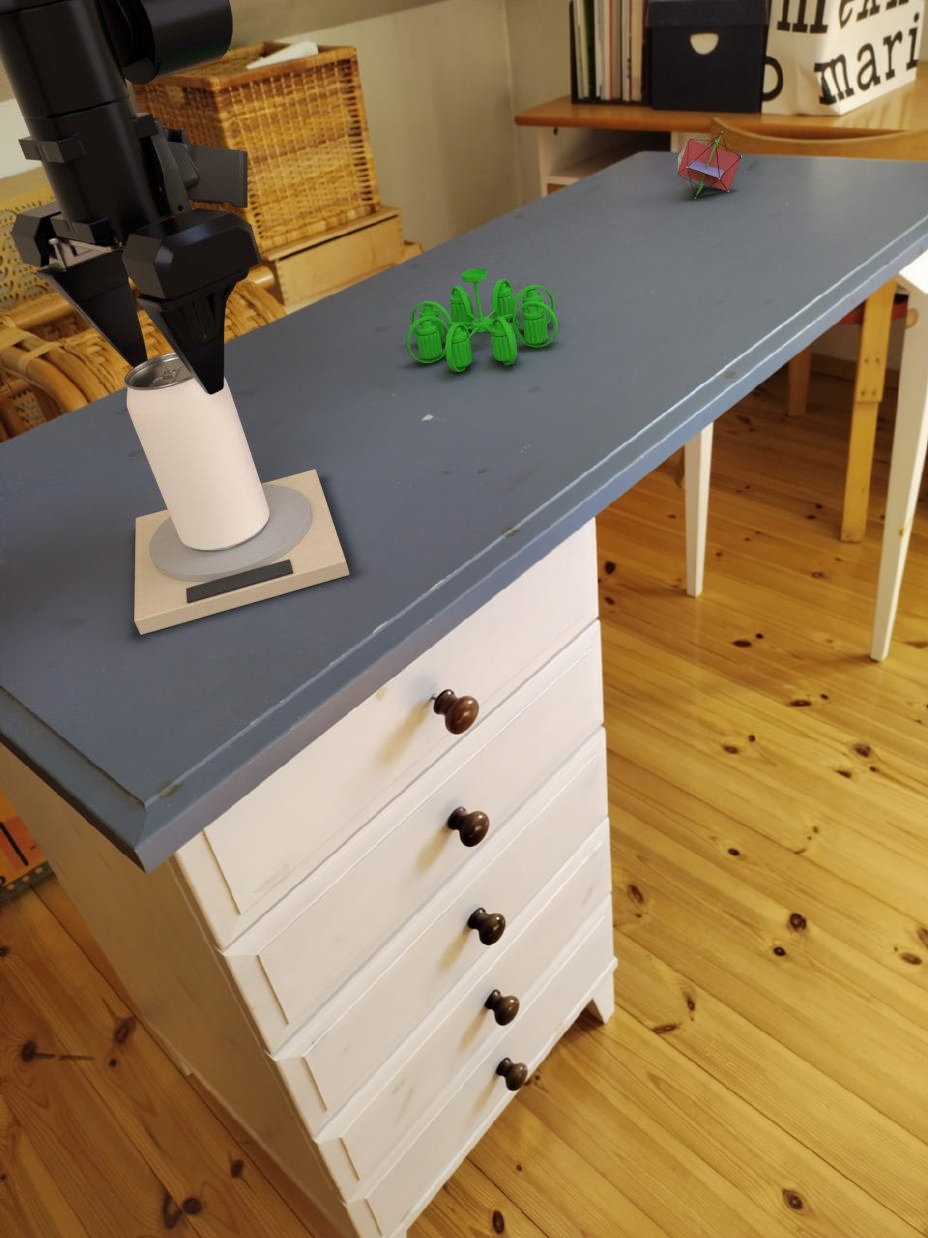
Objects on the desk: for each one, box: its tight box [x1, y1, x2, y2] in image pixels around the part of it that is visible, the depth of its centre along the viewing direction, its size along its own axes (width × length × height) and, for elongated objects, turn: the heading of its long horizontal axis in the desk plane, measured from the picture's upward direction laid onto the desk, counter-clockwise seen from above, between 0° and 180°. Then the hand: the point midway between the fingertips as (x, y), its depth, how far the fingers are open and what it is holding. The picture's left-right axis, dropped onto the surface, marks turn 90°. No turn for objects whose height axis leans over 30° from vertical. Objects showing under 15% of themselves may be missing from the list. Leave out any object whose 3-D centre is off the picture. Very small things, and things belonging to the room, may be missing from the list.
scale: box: [133, 468, 350, 635], centre depth 67 cm, size 14×14×2 cm
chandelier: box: [405, 267, 559, 373], centre depth 88 cm, size 15×15×7 cm
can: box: [123, 351, 269, 552], centre depth 63 cm, size 6×6×12 cm
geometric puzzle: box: [676, 131, 743, 200], centre depth 116 cm, size 7×7×8 cm
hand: (176, 377), depth 60 cm, fingers open, 9 cm apart
